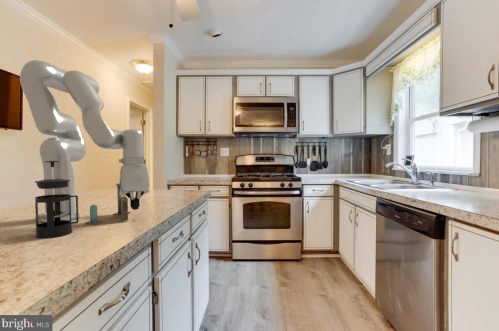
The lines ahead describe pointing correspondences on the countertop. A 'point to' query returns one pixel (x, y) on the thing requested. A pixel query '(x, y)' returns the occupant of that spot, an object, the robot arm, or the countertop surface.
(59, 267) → the countertop surface
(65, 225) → the french press
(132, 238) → the countertop surface
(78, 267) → the countertop surface
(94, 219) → the latch post
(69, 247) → the countertop surface
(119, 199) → the gate post
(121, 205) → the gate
